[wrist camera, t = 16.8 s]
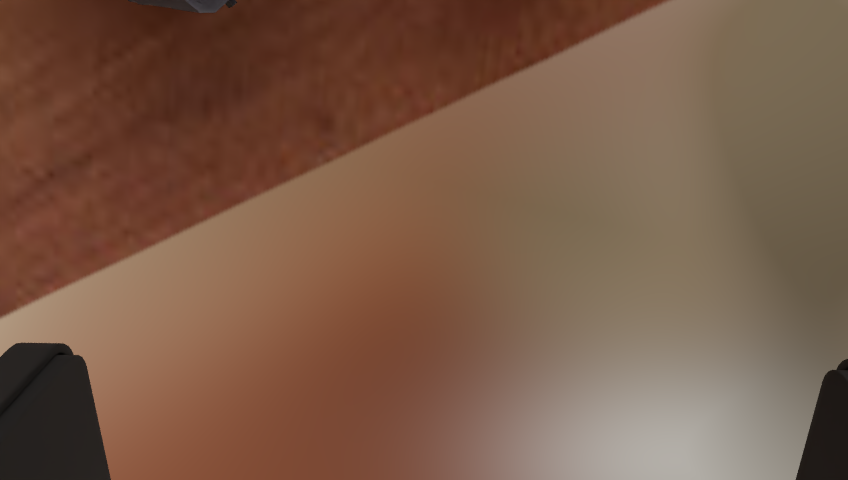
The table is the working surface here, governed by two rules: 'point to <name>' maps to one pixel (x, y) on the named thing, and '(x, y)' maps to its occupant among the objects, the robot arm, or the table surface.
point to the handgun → (189, 4)
